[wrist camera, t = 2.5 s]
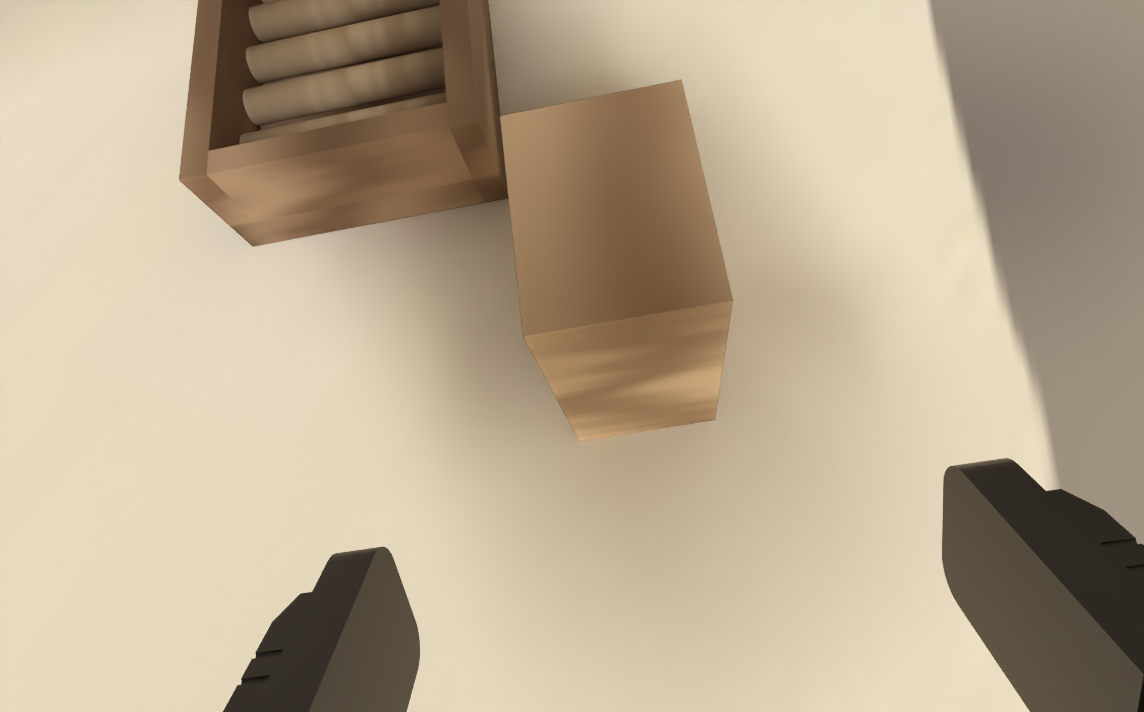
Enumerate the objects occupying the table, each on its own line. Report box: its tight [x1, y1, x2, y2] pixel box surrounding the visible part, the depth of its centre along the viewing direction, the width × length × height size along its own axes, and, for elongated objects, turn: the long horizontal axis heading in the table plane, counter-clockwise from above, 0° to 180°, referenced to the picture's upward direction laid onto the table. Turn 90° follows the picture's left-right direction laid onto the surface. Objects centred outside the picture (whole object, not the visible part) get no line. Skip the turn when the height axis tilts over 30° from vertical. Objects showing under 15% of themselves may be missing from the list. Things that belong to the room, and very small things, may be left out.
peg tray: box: [179, 0, 509, 246], centre depth 28 cm, size 10×12×4 cm
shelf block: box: [500, 80, 733, 441], centre depth 20 cm, size 4×6×9 cm
